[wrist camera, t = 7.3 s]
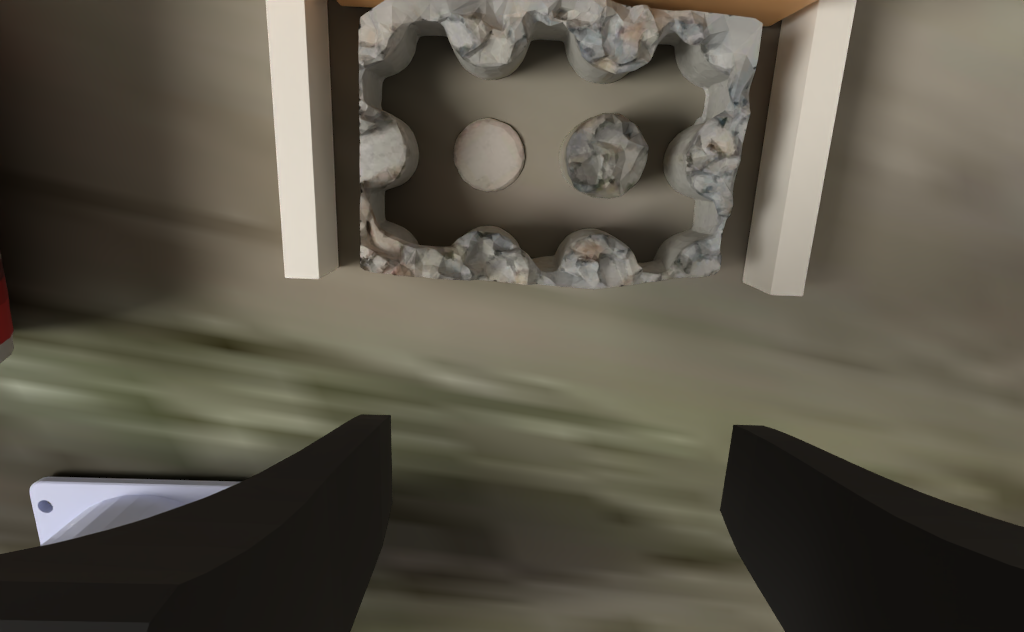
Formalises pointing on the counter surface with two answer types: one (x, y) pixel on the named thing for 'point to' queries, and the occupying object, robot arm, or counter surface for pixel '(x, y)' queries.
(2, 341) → the canned food
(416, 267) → the egg carton
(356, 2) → the pusher plate
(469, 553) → the counter surface
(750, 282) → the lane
